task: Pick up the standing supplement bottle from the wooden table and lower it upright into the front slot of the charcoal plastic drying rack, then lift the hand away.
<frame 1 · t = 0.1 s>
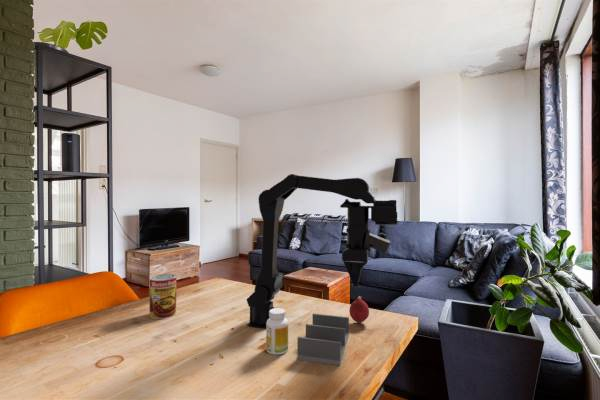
hand: (357, 281, 86), 15 cm above the table, tool pointing down, fingers open, 9 cm apart
supplement bottle: (277, 350, 77), on the table
drying rack: (325, 346, 79), on the table
onion: (359, 324, 94), on the table
canned food: (163, 314, 100), on the table
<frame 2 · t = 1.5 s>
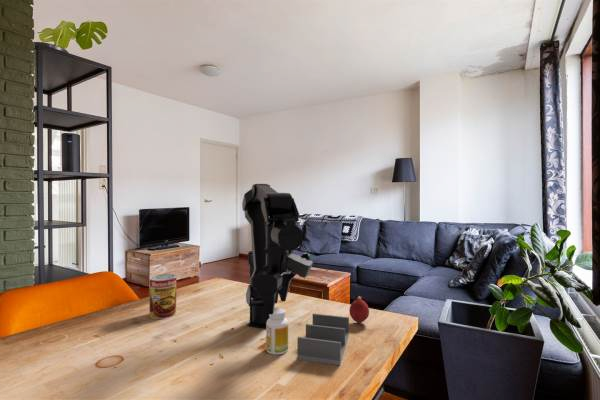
hand: (277, 307, 77), 10 cm above the table, tool pointing down, fingers open, 9 cm apart
nothing on the table moved.
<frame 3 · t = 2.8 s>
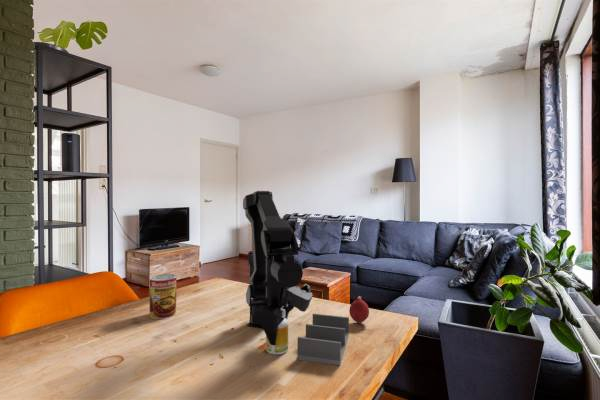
hand: (277, 339, 77), 3 cm above the table, tool pointing down, fingers closed on supplement bottle, 5 cm apart
supplement bottle: (277, 350, 77), on the table, touching gripper
everything else where it was.
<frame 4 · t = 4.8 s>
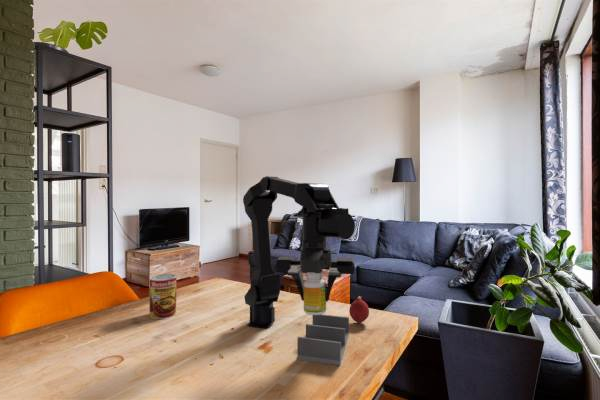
hand: (314, 300, 75), 13 cm above the table, tool pointing down, fingers closed on supplement bottle, 5 cm apart
supplement bottle: (315, 312, 75), point 10 cm above the table, touching gripper
everything else where it was.
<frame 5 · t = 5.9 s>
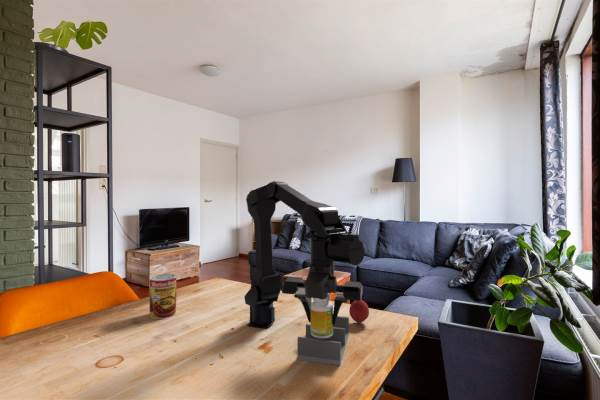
hand: (321, 323, 76), 7 cm above the table, tool pointing down, fingers closed on supplement bottle, 5 cm apart
supplement bottle: (321, 335, 76), point 4 cm above the table, touching gripper
everything else where it was.
when the fingers open (5 cm above the table, at t = 6.8 s): supplement bottle drops 1 cm, resting on drying rack.
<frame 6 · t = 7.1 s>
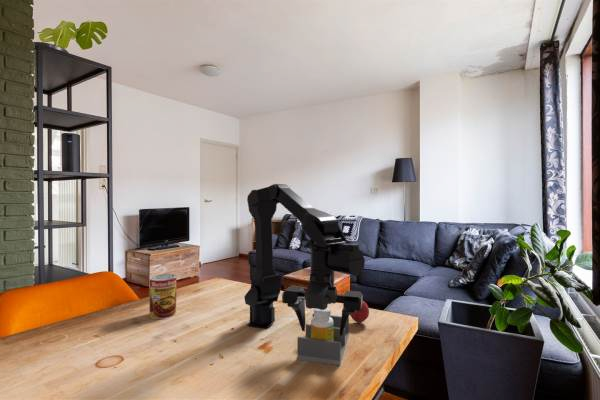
hand: (322, 332, 75), 5 cm above the table, tool pointing down, fingers open, 9 cm apart
supplement bottle: (322, 350, 75), point 1 cm above the table, touching drying rack
everything else where it was.
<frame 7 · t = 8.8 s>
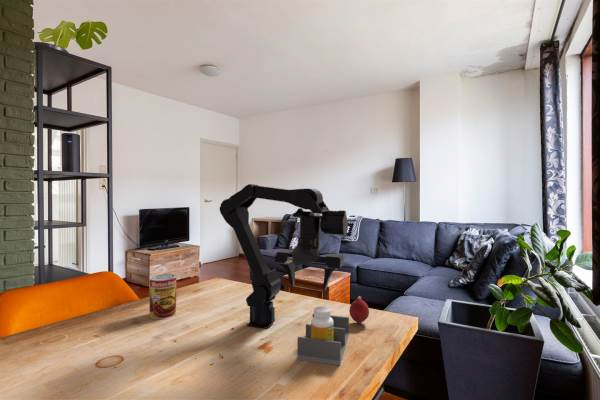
hand: (308, 289, 88), 12 cm above the table, tool pointing down, fingers open, 9 cm apart
nothing on the table moved.
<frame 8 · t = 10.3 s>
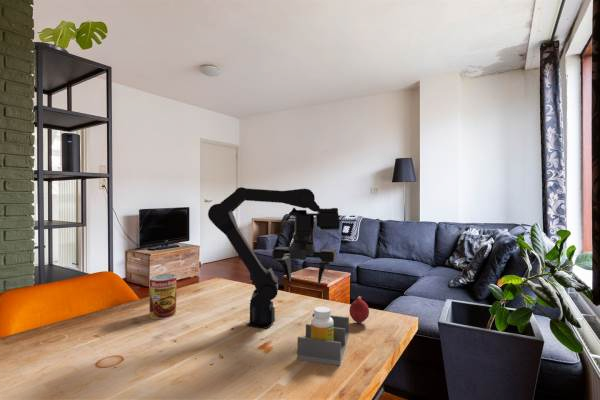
hand: (304, 282, 94), 12 cm above the table, tool pointing down, fingers open, 9 cm apart
nothing on the table moved.
at the end: supplement bottle 0.0 cm from the target spot on the drying rack, point 0.8 cm above the drying rack's base; supplement bottle tilted 0°; the gripper is holding nothing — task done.
